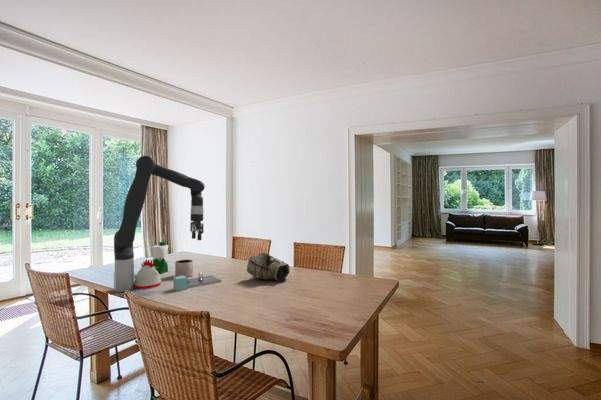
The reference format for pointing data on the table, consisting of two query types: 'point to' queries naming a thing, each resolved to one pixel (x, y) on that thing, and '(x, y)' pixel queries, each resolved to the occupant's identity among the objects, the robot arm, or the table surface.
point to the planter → (184, 268)
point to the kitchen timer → (147, 276)
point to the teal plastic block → (179, 283)
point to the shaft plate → (201, 280)
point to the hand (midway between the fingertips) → (196, 239)
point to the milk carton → (160, 257)
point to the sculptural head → (267, 267)
